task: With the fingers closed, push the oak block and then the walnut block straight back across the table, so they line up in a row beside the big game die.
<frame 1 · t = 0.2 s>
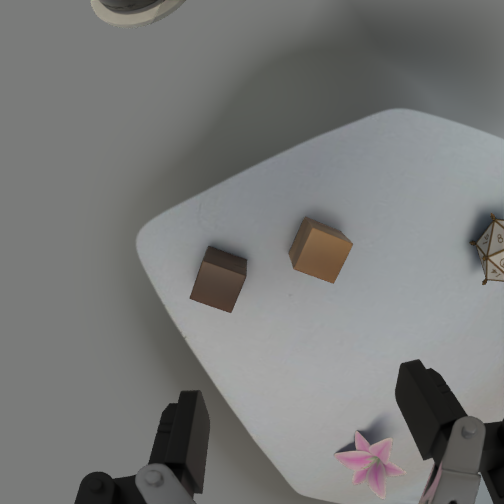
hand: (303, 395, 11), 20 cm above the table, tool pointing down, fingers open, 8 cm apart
lily: (364, 441, 42), on the table
game die: (485, 239, 31), on the table
oak block: (315, 242, 31), on the table
walnut block: (221, 270, 32), on the table
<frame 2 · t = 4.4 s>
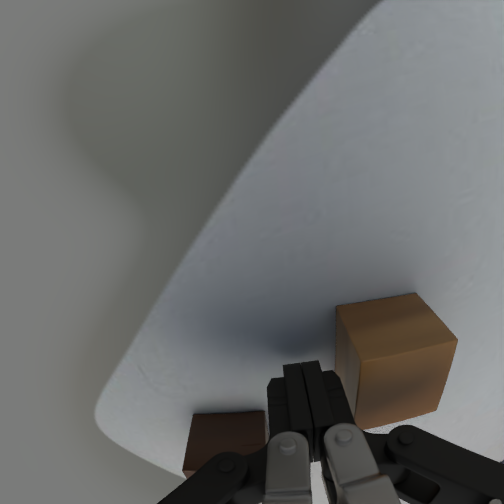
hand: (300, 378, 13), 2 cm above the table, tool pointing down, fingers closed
oak block: (375, 335, 14), on the table, touching gripper
walnut block: (234, 433, 16), on the table
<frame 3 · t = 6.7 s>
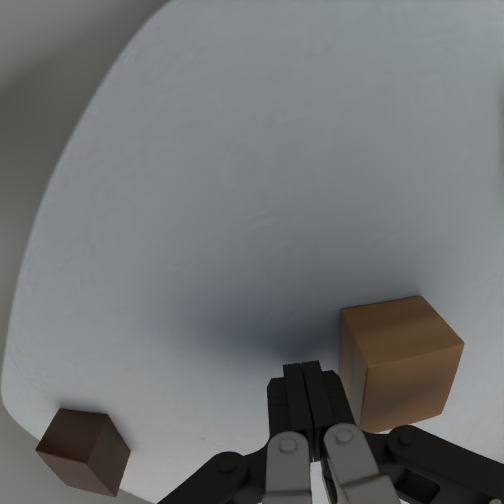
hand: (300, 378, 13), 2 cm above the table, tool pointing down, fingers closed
oak block: (379, 338, 14), on the table, touching gripper
walnut block: (94, 431, 17), on the table
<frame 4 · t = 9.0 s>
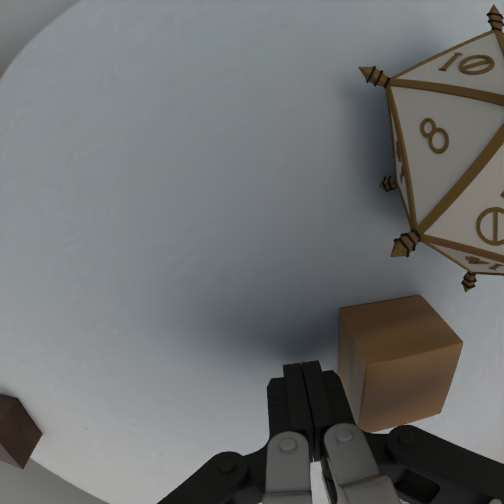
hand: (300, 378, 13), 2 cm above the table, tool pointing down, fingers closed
game die: (432, 149, 11), on the table
oak block: (378, 337, 14), on the table, touching gripper
walnut block: (14, 413, 17), on the table
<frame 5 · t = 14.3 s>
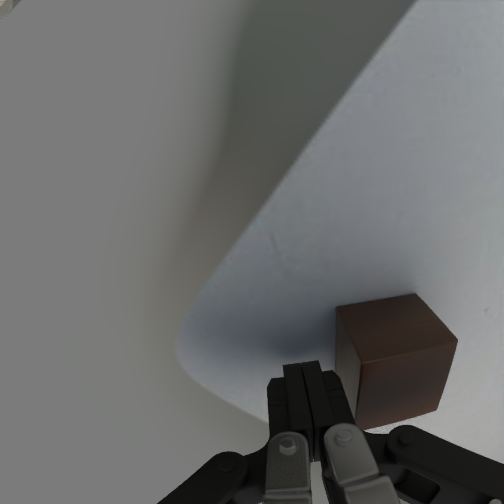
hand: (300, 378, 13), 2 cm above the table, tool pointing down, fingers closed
walnut block: (375, 335, 14), on the table, touching gripper
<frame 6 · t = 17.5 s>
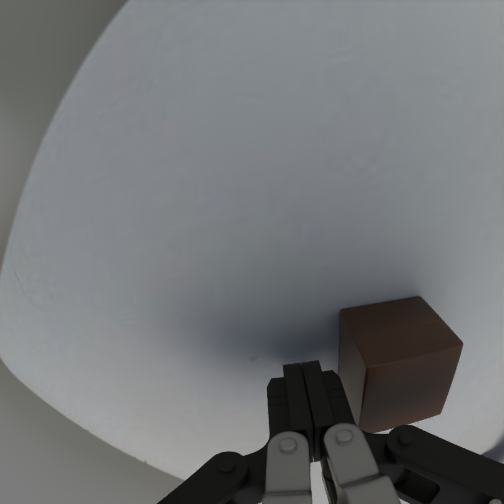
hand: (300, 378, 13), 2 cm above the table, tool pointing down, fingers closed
walnut block: (379, 338, 14), on the table, touching gripper
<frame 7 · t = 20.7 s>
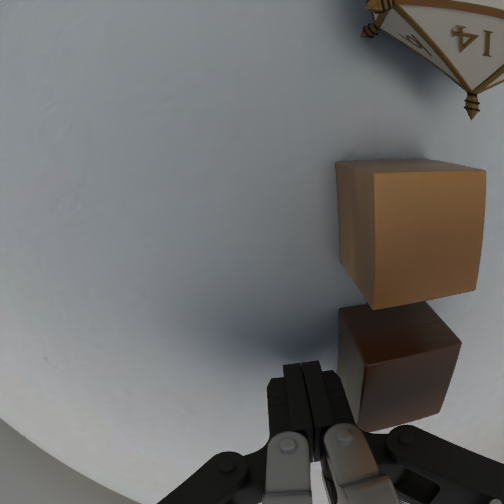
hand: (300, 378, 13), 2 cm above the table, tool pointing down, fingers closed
game die: (410, 14, 9), on the table
oak block: (385, 209, 12), on the table
walnut block: (378, 337, 14), on the table, touching gripper
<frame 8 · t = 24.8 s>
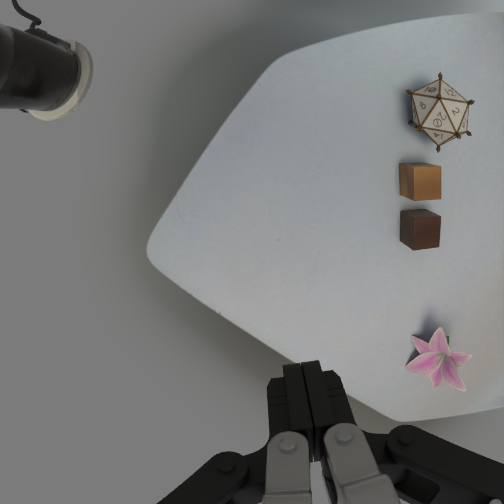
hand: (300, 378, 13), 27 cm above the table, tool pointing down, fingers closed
lily: (426, 343, 45), on the table
game die: (423, 113, 33), on the table
oak block: (412, 178, 36), on the table
walnut block: (413, 224, 38), on the table
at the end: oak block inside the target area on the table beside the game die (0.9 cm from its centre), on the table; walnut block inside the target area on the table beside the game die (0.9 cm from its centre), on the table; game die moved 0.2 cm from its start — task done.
